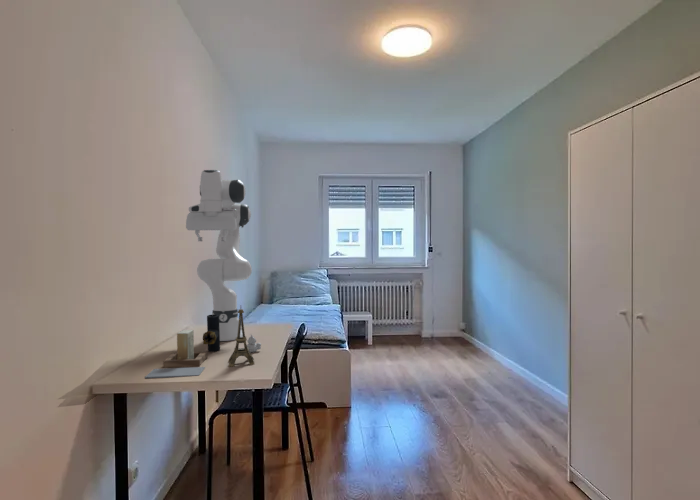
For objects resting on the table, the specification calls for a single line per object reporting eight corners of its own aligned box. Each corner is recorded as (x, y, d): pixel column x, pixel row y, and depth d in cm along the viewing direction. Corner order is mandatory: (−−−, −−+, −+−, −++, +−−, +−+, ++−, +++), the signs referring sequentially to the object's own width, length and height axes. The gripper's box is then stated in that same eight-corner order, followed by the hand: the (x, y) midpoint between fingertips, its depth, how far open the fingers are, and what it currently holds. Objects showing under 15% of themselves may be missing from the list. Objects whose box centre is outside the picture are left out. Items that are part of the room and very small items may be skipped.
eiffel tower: (227, 368, 165) (226, 301, 165) (227, 361, 175) (226, 297, 175) (256, 366, 168) (255, 299, 168) (254, 359, 178) (254, 296, 178)
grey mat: (154, 370, 164) (154, 368, 164) (205, 368, 166) (205, 366, 166) (144, 378, 154) (144, 377, 154) (199, 376, 156) (199, 374, 156)
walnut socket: (173, 359, 179) (172, 352, 179) (206, 357, 181) (206, 351, 181) (163, 368, 166) (163, 361, 166) (199, 366, 168) (199, 360, 168)
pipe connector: (215, 356, 185) (214, 321, 183) (202, 357, 184) (201, 321, 183) (221, 347, 196) (220, 314, 195) (209, 348, 196) (208, 314, 194)
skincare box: (183, 360, 177) (183, 329, 177) (194, 360, 177) (194, 329, 176) (176, 365, 170) (176, 333, 170) (188, 365, 170) (187, 333, 170)
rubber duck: (245, 351, 191) (245, 332, 191) (261, 350, 193) (261, 332, 192) (244, 354, 186) (244, 335, 186) (261, 353, 187) (261, 334, 187)
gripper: (237, 208, 192) (238, 241, 192) (188, 208, 189) (188, 241, 189) (235, 207, 185) (236, 241, 186) (184, 207, 183) (185, 241, 183)
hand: (211, 241), depth 187 cm, fingers open, 8 cm apart
